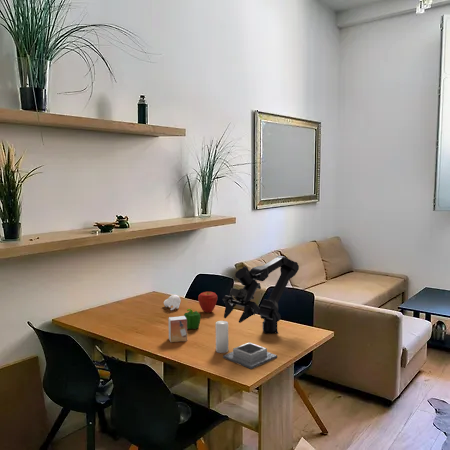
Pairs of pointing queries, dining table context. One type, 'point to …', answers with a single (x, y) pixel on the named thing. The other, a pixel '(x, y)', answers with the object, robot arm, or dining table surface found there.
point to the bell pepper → (192, 319)
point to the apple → (207, 301)
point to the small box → (177, 329)
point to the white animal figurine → (172, 302)
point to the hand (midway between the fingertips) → (231, 320)
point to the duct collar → (250, 355)
